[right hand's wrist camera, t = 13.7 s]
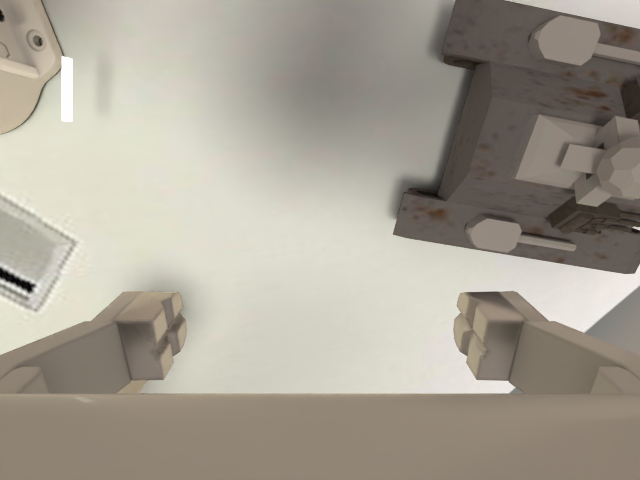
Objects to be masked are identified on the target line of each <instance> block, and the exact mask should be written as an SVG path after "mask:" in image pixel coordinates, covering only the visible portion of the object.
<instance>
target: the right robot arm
mask: <svg viewBox="0 0 640 480" xmlns="http://www.w3.org/2000/svg"><path fill="white" fill-rule="evenodd" d="M40 38H42V41H43V44H42V45H40V43H39V39H40ZM61 67H62V121H72V59H71V58H67V57H63V55H62V52H61V49H60V47H59V44H58V42H57V39H56V37H55V34H54V32H53V29H52V27H51V24H50V22H49V19H48V17H47V15H46V12H45V10H44V7H43V5H42V2H41V0H0V134H2V133H6V132H8V131H11V130H13V129H15V128H16V127H18V126H19V125H21V124H22V123H23V122H24V121H25V120H26V119H27V118H28V117H29V116H30V114H31V113H32V111H33V110H34V108H35V106H36V104H37V101H38V98H39V95H40V93H41V90H42V88H43V86H44V84H45V83H46V82H47V81H48V80H49V79H50V78H52V77H53V76H54V75H55V74H56V73H57V72H58V71H59V70H60V68H61ZM182 307H183V302H182V297H181V295H180V294H179V293H178V292H143V291H135V292H123V293H122V294H121V295H120V296H118V297H117V298H116V299H115V300H114V301H113V302H112V303H111V304H110V305H108V306H107V307H106V308H105V309H104V310H103V311H102V312H101V313H99V314H98V315H97V316H96V317H95V318H94V319H93V320H92V321H85V322H82V323H80V324H77V325H75V326H72V327H70V328H67V329H65V330H62V331H60V332H57V333H55V334H52V335H50V336H47V337H45V338H42V339H40V340H37V341H35V342H32V343H30V344H27V345H25V346H22V347H20V348H17V349H15V350H12V351H10V352H7V353H5V354H2V355H0V480H640V355H637V354H635V353H632V352H630V351H627V350H625V349H622V348H620V347H618V346H615V345H613V344H610V343H608V342H605V341H603V340H600V339H598V338H595V337H593V336H590V335H588V334H585V333H583V332H580V331H578V330H575V329H573V328H570V327H568V326H565V325H563V324H560V323H558V322H555V321H548V320H547V319H546V318H545V317H544V316H543V315H542V314H541V313H539V312H538V311H537V310H536V309H535V308H534V307H533V306H532V305H531V304H529V303H528V302H527V301H526V300H525V299H524V298H523V297H522V296H521V295H519V294H518V293H517V292H514V291H506V292H464V293H460V295H459V297H458V302H457V307H458V309H459V310H460V312H461V313H460V314H459V315H458V316H457V317H456V318H455V321H454V329H453V330H454V339H455V342H456V345H457V347H458V349H459V351H460V352H461V353H463V354H465V355H466V356H467V361H466V363H467V365H468V366H469V368H470V370H471V371H472V373H473V375H474V376H475V378H476V380H502V381H509V383H511V384H512V385H513V386H515V387H516V388H518V389H519V390H520V391H522V392H523V393H524V394H116V393H117V392H119V391H120V390H121V389H123V388H124V387H125V386H127V385H128V384H129V383H131V381H137V380H164V378H165V376H166V375H167V373H168V371H169V370H170V368H171V366H172V364H173V363H174V361H173V356H174V355H175V354H177V353H179V352H180V351H181V349H182V347H183V345H184V342H185V338H186V320H185V318H184V317H183V316H182V315H181V314H180V313H179V312H180V310H181V309H182Z"/></svg>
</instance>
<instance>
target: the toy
mask: <svg viewBox="0 0 640 480" xmlns="http://www.w3.org/2000/svg"><path fill="white" fill-rule="evenodd" d="M441 55H445V58H444V62H445V63H446V64H449V65H453V66H458V67H463V68H468V69H473V70H475V71H474V75H473V78H472V81H471V85H470V88H469V91H468V95H467V98H466V101H465V105H464V108H463V111H462V115H461V118H460V121H459V125H458V128H457V132H456V135H455V138H454V142H453V145H452V148H451V152H450V155H449V158H448V162H447V165H446V168H445V172H444V175H443V178H442V182H441V185H440V188H439V192H435V191H430V190H424V189H418V188H409V189H408V193H407V192H404V195H403V199H402V202H401V206H400V210H399V213H398V217H397V221H396V225H395V228H394V232H393V235H397V236H401V237H405V238H410V239H416V240H422V241H428V242H434V243H440V244H446V245H452V246H458V247H464V248H470V249H476V250H482V251H488V252H495V253H501V254H507V255H513V256H519V257H525V258H531V259H537V260H543V261H549V262H555V263H561V264H567V265H573V266H579V267H585V268H592V269H598V270H604V271H610V272H616V273H623V274H633V273H635V272H636V270H637V268H638V266H639V264H640V231H639V230H637V229H634V228H632V227H634V226H635V227H640V29H637V28H632V27H627V26H623V25H618V24H613V23H609V22H604V21H599V20H594V19H590V18H585V17H580V16H576V15H571V14H566V13H561V12H557V11H552V10H547V9H543V8H538V7H533V6H528V5H524V4H519V3H514V2H510V1H505V0H456V1H455V5H454V9H453V12H452V16H451V20H450V23H449V27H448V31H447V35H446V38H445V42H444V46H443V50H442V53H441Z"/></svg>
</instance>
